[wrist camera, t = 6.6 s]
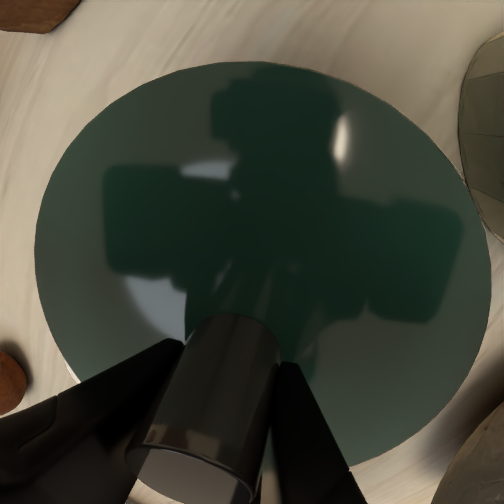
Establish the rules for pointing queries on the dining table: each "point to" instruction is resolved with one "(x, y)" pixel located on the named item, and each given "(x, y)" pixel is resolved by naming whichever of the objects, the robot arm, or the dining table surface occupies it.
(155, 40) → the dining table surface
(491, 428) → the bowl
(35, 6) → the sculpture
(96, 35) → the dining table surface
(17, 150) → the dining table surface
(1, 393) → the potato
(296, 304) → the pot lid
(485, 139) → the pot
